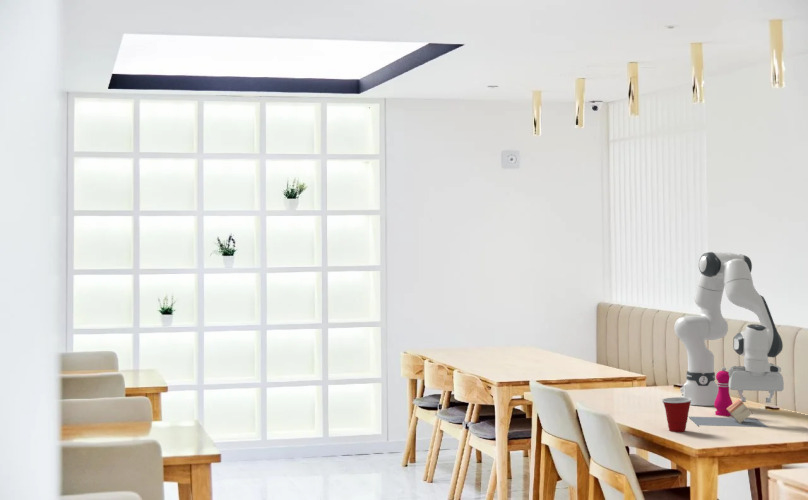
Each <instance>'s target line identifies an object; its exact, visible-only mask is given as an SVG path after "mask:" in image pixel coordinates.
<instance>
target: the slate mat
mask: <svg viewBox="0 0 808 500" xmlns="http://www.w3.org/2000/svg"><path fill="white" fill-rule="evenodd" d="M688 419H689V420H691V422H693V424H695V425H696V426H697V427H700V426H707V427H708V426H709V427H710V426H711V427H713V426H714V427H715V426H716V427H742V428H743V427H747V428H748V427H749V428H769V426H768V425H767V424H765V423H763V422H762V421H760V420H758V418H754V417H753V418H752V417H747V418H746V419H745V420H744V421H742V422H741V423H739V422H738V421H736V420H735V418H734V417H725V416H718V417H717V416H688Z"/></svg>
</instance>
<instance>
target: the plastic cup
mask: <svg viewBox="0 0 808 500" xmlns="http://www.w3.org/2000/svg"><path fill="white" fill-rule="evenodd" d="M691 401H692V399H691V398H685V397H684V396H679V397H667V398H663V399H661V402H662V403H663V406H664V409H665V415H666V421H667V427H668V430H669V432H673V433H684V432H686V427H687V423H688V419H689V412H690V406H691V405H690V403H691Z"/></svg>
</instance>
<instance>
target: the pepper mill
mask: <svg viewBox="0 0 808 500" xmlns="http://www.w3.org/2000/svg"><path fill="white" fill-rule="evenodd" d="M729 378H730V377H729V371H727V368H726V367H725V366H723V367H721V370H720V371H717V373H715V380H716V381H717V382H716V384H717V386H718V395H717V397H716V399H715V402H714V405H713V406H714V408H715V410H716V411H715V412H714V413H715V416H718V417H731V416H732V415H731V414H730V413H729V412H728V410H727V408H728V407H729V406H730V405H732V404H733V403H734V402H733V400H732V398H731V396H730V388H729Z"/></svg>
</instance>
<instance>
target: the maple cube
mask: <svg viewBox="0 0 808 500" xmlns="http://www.w3.org/2000/svg"><path fill="white" fill-rule="evenodd" d="M732 403H733V404H732V405H730V406H729V407H728V408H727V410H728V412H729V413H730V414H731V416H732V418H735V420H736V421H738V422H739V423H741V422H742V421H744V420H745V419H746V418H750V416H751V415H752V414H753V413H752V412H751V410H750V409H749V408H748V406H746V405H745V404H744V403H745V402H742V401H741V399H739V398H738V399H737V400H735V401H734V402H732Z"/></svg>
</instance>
